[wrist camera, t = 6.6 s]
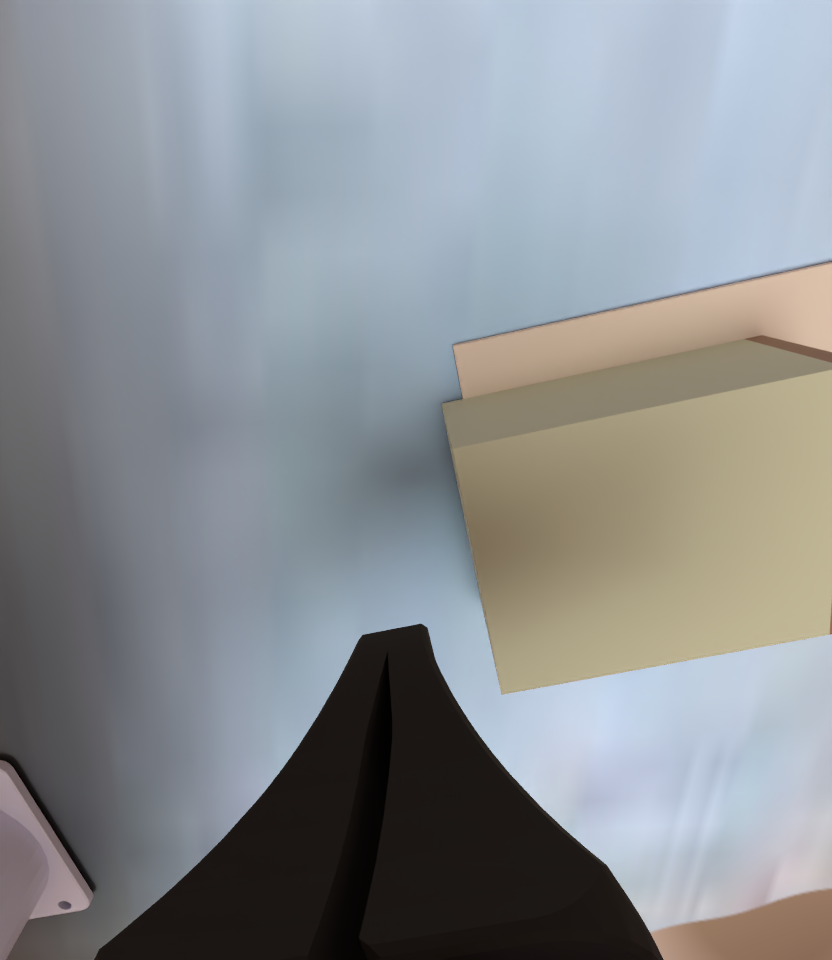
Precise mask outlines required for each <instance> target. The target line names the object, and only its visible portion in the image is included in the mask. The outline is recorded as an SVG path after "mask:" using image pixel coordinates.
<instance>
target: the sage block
mask: <svg viewBox="0 0 832 960" xmlns="http://www.w3.org/2000/svg"><path fill="white" fill-rule="evenodd" d="M441 405H442V410H443V415H444V420H445V425H446V430H447V435H448V440H449V445H450V450H451V455H452V460H453V465H454V470H455V475H456V480H457V485H458V490H459V495H460V499H461V504H462V509H463V514H464V519H465V524H466V529H467V534H468V539H469V544H470V549H471V554H472V559H473V564H474V569H475V574H476V579H477V584H478V589H479V594H480V599H481V603H482V608H483V613H484V617H485V622H486V626H487V631H488V635H489V640H490V644H491V649H492V653H493V658H494V662H495V667H496V671H497V676H498V680H499V685H500V689H501V694H508V693H513V692H519V691H524V690H530V689H535V688H540V687H546V686H551V685H557V684H562V683H568V682H573V681H579V680H584V679H590V678H595V677H600V676H606V675H611V674H617V673H622V672H628V671H633V670H639V669H644V668H649V667H655V666H660V665H666V664H671V663H677V662H682V661H688V660H693V659H698V658H704V657H709V656H715V655H720V654H726V653H731V652H737V651H742V650H747V649H753V648H758V647H764V646H769V645H775V644H780V643H786V642H791V641H797V640H802V639H807V638H813V637H818V636H824V635H829V634H832V352H829V351H825V350H821V349H817V348H813V347H808V346H804V345H800V344H796V343H792V342H788V341H784V340H780V339H776V338H772V337H768V336H764V335H760V336H756V337H751V338H746V339H742V340H737V341H732V342H728V343H723V344H718V345H714V346H709V347H704V348H700V349H695V350H690V351H686V352H681V353H676V354H671V355H667V356H662V357H657V358H653V359H648V360H643V361H639V362H634V363H629V364H625V365H620V366H615V367H611V368H606V369H601V370H597V371H592V372H587V373H582V374H578V375H573V376H568V377H564V378H559V379H554V380H550V381H545V382H540V383H536V384H531V385H526V386H522V387H517V388H512V389H508V390H503V391H498V392H494V393H489V394H484V395H479V396H475V397H470V398H465V399H461V400H456V401H451V402H447V403H442V404H441Z"/></svg>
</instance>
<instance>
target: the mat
mask: <svg viewBox="0 0 832 960" xmlns="http://www.w3.org/2000/svg"><path fill="white" fill-rule="evenodd" d="M760 335H764V336H768V337H772V338H776V339H780V340H784V341H788V342H792V343H796V344H800V345H804V346H808V347H813V348H817V349H821V350H825V351H829V352H832V262H828V263H823V264H819V265H814V266H810V267H805V268H800V269H796V270H791V271H787V272H782V273H778V274H773V275H768V276H764V277H759V278H755V279H750V280H746V281H741V282H736V283H732V284H727V285H723V286H718V287H714V288H709V289H705V290H700V291H695V292H691V293H686V294H682V295H677V296H673V297H668V298H663V299H659V300H654V301H650V302H645V303H641V304H636V305H632V306H627V307H622V308H618V309H613V310H609V311H604V312H600V313H595V314H590V315H586V316H581V317H577V318H572V319H568V320H563V321H559V322H554V323H549V324H545V325H540V326H536V327H531V328H527V329H522V330H517V331H513V332H508V333H504V334H499V335H495V336H490V337H486V338H481V339H476V340H472V341H467V342H463V343H458V344H454V345H453V350H454V356H455V361H456V366H457V372H458V377H459V382H460V388H461V393H462V398H463V399H465V398H470V397H475V396H479V395H484V394H489V393H494V392H498V391H503V390H508V389H512V388H517V387H522V386H526V385H531V384H536V383H540V382H545V381H550V380H554V379H559V378H564V377H568V376H573V375H578V374H582V373H587V372H592V371H597V370H601V369H606V368H611V367H615V366H620V365H625V364H629V363H634V362H639V361H643V360H648V359H653V358H657V357H662V356H667V355H671V354H676V353H681V352H686V351H690V350H695V349H700V348H704V347H709V346H714V345H718V344H723V343H728V342H732V341H737V340H742V339H746V338H751V337H756V336H760Z"/></svg>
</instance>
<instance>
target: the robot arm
mask: <svg viewBox="0 0 832 960" xmlns="http://www.w3.org/2000/svg"><path fill="white" fill-rule="evenodd" d="M92 899H93V893H92V891H91V889H90V888H89V886H88V885H87V883H86V881H85V880H84V878H83V877H82V875H81V873H80V872H79V870H78V869H77V867H76V866H75V864H74V862H73V861H72V859H71V858H70V856H69V855H68V853H67V851H66V850H65V848H64V847H63V845H62V844H61V842H60V840H59V839H58V837H57V836H56V834H55V833H54V831H53V829H52V828H51V826H50V825H49V823H48V821H47V820H46V818H45V817H44V815H43V814H42V812H41V810H40V809H39V807H38V806H37V804H36V803H35V801H34V799H33V798H32V796H31V795H30V793H29V792H28V790H27V788H26V787H25V785H24V784H23V782H22V781H21V779H20V777H19V776H18V774H17V773H16V771H15V769H14V768H13V767H12V765H11V764H9V763H8V762H6V761H2V760H0V960H6V959H7V957H8V955H9V953H10V952H11V950H12V948H13V946H14V944H15V943H16V941H17V939H18V937H19V935H20V934H21V932H22V930H23V928H24V926H25V925H26V923H27V921H28V919H33V918H39V917H45V916H51V915H57V914H63V913H69V912H75V911H81V910H84V909H86V908H87V907H89V905H90V903H91V901H92ZM94 960H663V958H662V956H661V954H660V952H659V949H658V947H657V946H656V943H655V941H654V940H653V938H652V936H651V934H650V932H649V930H648V929H647V927H646V925H645V923H644V922H643V920H642V918H641V917H640V915H639V913H638V912H637V910H636V909H635V907H634V906H633V904H632V902H631V901H630V899H629V898H628V896H627V895H626V893H625V892H624V890H623V889H622V887H621V886H620V884H619V883H618V881H617V880H616V878H615V877H614V875H613V874H612V872H611V871H610V869H609V868H608V866H607V865H606V864H604V863H603V862H602V861H601V860H600V859H598V858H597V857H596V856H595V855H594V854H592V853H591V852H590V851H589V850H588V849H586V848H585V847H584V846H583V845H582V844H581V843H579V842H578V841H577V840H576V839H575V838H574V837H573V836H571V835H570V834H569V833H568V832H567V831H566V830H565V829H563V828H562V827H561V826H560V825H559V824H558V823H557V822H556V821H555V820H554V819H553V818H552V817H551V816H550V815H549V814H548V813H547V812H546V811H544V810H543V809H542V808H541V807H540V806H539V805H538V803H537V802H536V801H535V800H534V799H533V798H532V797H531V796H530V795H529V794H528V793H527V792H526V791H525V790H524V789H523V787H522V786H521V785H520V784H519V783H518V782H517V781H516V780H515V779H514V778H513V777H512V776H511V775H510V774H509V772H508V771H507V770H506V769H505V768H504V766H503V765H502V764H501V763H500V762H499V760H498V759H497V758H496V757H495V756H494V754H493V753H492V752H491V750H490V749H489V748H488V747H487V745H486V744H485V743H484V741H483V740H482V739H481V737H480V736H479V735H478V733H477V732H476V730H475V729H474V727H473V726H472V725H471V723H470V722H469V720H468V719H467V717H466V715H465V714H464V712H463V711H462V709H461V708H460V706H459V704H458V703H457V701H456V699H455V698H454V696H453V694H452V693H451V691H450V689H449V687H448V685H447V683H446V681H445V679H444V677H443V676H442V674H441V672H440V669H439V667H438V665H437V663H436V660H435V657H434V653H433V649H432V645H431V641H430V637H429V632H428V628H427V627H425V626H424V625H422V624H417V625H412V626H407V627H402V628H396V629H391V630H386V631H381V632H376V633H370V634H365V635H362V636H361V638H360V639H359V641H358V643H357V645H356V647H355V649H354V651H353V653H352V655H351V657H350V659H349V661H348V663H347V665H346V667H345V669H344V671H343V672H342V674H341V676H340V678H339V680H338V682H337V684H336V686H335V687H334V689H333V691H332V693H331V694H330V696H329V698H328V700H327V701H326V703H325V705H324V707H323V708H322V710H321V712H320V713H319V715H318V717H317V718H316V720H315V721H314V723H313V724H312V726H311V728H310V729H309V731H308V732H307V734H306V735H305V737H304V738H303V740H302V741H301V743H300V745H299V746H298V748H297V749H296V750H295V752H294V753H293V755H292V756H291V758H290V759H289V760H288V762H287V763H286V765H285V766H284V767H283V769H282V770H281V771H280V773H279V774H278V775H277V777H276V778H275V779H274V780H273V782H272V783H271V784H270V786H269V787H268V788H267V789H266V791H265V792H264V793H263V794H262V796H261V797H260V798H259V799H258V800H257V801H256V803H255V804H254V805H253V806H252V807H251V808H250V809H249V810H248V811H247V813H246V814H245V815H244V816H243V817H242V818H241V819H240V820H239V822H238V823H237V824H236V825H235V826H234V827H233V828H232V829H231V830H230V832H229V833H228V834H227V835H226V836H225V837H224V838H223V839H222V840H221V841H220V842H219V843H218V844H217V845H216V846H215V847H214V848H213V849H212V850H211V851H210V852H209V853H208V854H207V855H206V856H205V857H204V858H203V859H202V860H201V861H200V862H199V863H198V864H197V865H196V866H195V867H194V868H193V869H192V870H191V871H190V872H189V873H188V874H187V875H186V876H184V877H183V878H182V879H181V880H180V881H179V882H178V883H177V884H176V885H175V886H174V887H173V888H172V889H170V890H169V891H168V892H167V893H166V894H165V895H164V896H163V897H162V898H160V899H159V900H158V901H157V902H156V903H155V904H153V905H152V906H151V907H150V908H149V909H147V910H146V911H145V912H144V913H143V914H142V915H140V916H139V917H138V918H137V919H136V920H134V921H133V922H132V923H131V924H130V925H129V926H127V927H126V928H125V929H124V930H123V931H121V932H120V933H119V934H118V935H117V936H116V937H114V938H113V939H112V940H111V941H109V942H108V943H107V944H106V945H104V946H103V947H102V948H101V949H99V951H98V953H97V955H96V957H95V959H94Z"/></svg>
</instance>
